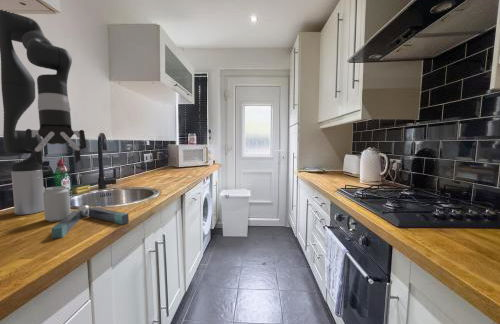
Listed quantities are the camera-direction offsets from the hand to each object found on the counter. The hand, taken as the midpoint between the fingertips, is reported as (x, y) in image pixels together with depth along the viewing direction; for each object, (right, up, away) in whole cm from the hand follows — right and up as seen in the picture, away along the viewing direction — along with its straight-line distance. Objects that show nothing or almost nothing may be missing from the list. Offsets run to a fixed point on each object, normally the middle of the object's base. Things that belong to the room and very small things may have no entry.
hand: (59, 163), depth 73 cm
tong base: (-2, -21, +9) cm, 23 cm away
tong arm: (+6, -20, +15) cm, 26 cm away
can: (-13, -21, +16) cm, 29 cm away
